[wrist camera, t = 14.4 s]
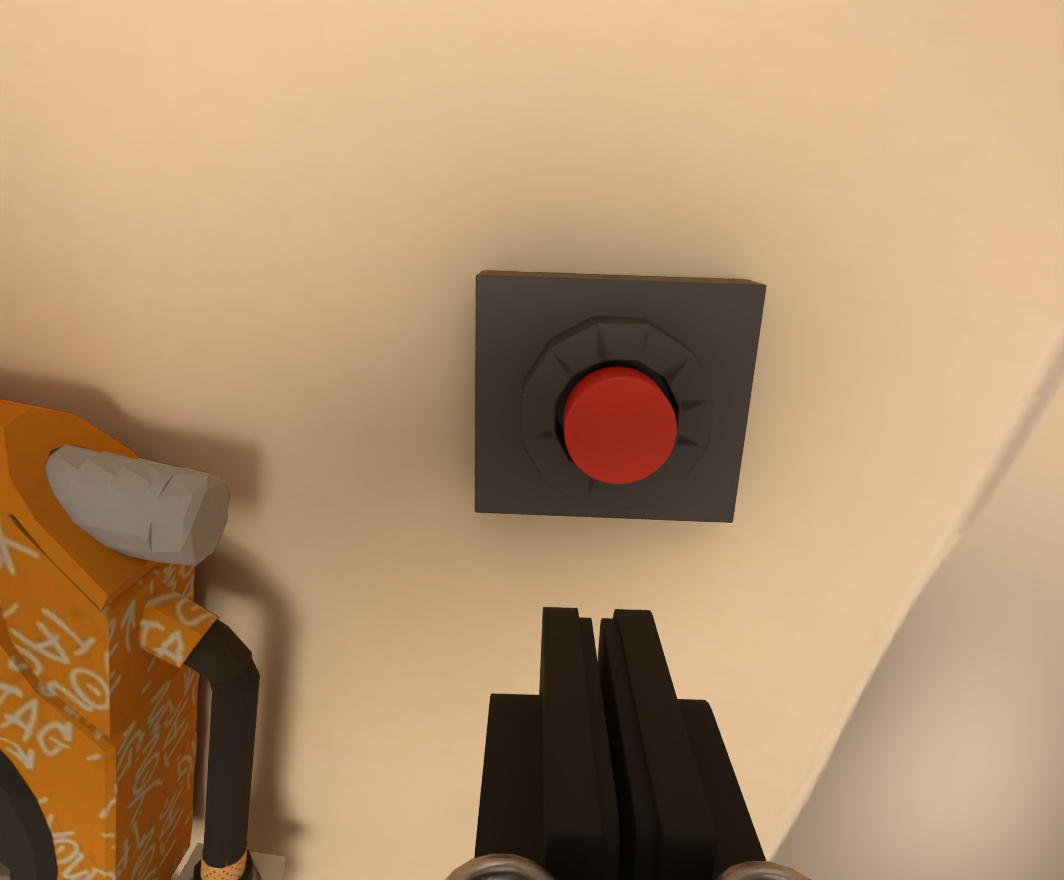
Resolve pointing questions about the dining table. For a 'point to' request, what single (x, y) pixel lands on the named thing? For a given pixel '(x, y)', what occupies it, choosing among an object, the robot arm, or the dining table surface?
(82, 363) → the dining table surface
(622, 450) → the power button
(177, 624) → the device
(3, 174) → the dining table surface
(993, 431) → the dining table surface
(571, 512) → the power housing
